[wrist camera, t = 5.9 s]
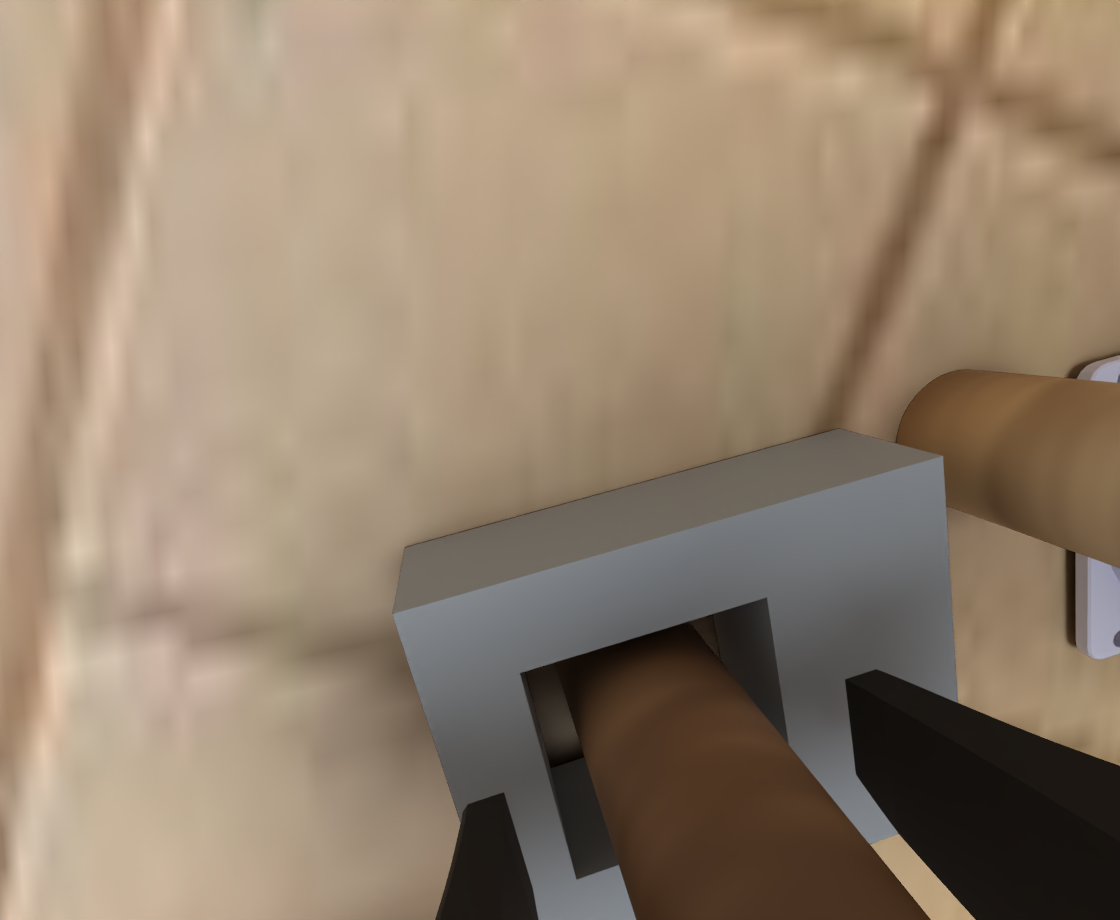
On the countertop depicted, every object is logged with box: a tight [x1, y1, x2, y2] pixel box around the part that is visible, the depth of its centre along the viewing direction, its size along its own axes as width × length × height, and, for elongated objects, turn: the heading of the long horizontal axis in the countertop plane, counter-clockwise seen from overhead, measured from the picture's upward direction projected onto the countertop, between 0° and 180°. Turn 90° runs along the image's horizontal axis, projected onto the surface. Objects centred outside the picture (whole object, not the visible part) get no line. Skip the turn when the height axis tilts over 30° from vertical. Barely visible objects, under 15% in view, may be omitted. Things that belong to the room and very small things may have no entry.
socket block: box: [392, 429, 958, 920], centre depth 13 cm, size 10×8×3 cm
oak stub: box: [896, 370, 1120, 568], centre depth 12 cm, size 3×3×5 cm
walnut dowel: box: [556, 621, 931, 920], centre depth 10 cm, size 3×3×8 cm
